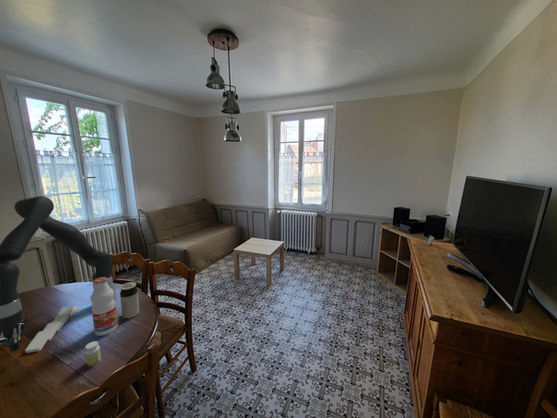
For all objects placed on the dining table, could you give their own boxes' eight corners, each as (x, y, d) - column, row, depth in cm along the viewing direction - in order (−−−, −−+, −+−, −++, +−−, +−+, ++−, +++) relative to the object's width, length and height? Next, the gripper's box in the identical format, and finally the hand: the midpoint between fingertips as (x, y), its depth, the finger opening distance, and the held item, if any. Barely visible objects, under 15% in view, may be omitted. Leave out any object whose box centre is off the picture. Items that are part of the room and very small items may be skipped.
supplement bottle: (92, 357, 94) (90, 340, 93) (104, 356, 94) (101, 340, 93) (83, 367, 89) (81, 349, 88) (95, 366, 90) (93, 348, 88)
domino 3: (54, 324, 114) (62, 310, 121) (66, 321, 116) (73, 308, 123) (53, 321, 113) (61, 307, 120) (65, 319, 115) (72, 306, 122)
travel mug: (126, 321, 117) (123, 290, 114) (120, 315, 121) (116, 286, 118) (142, 313, 124) (139, 284, 121) (135, 308, 128) (132, 280, 125)
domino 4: (57, 328, 108) (68, 313, 116) (45, 330, 107) (57, 315, 114) (58, 331, 109) (69, 316, 116) (46, 333, 107) (58, 317, 115)
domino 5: (60, 319, 118) (69, 310, 126) (71, 318, 119) (79, 308, 128) (60, 316, 118) (69, 307, 126) (71, 315, 119) (79, 305, 127)
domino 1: (26, 353, 95) (40, 334, 103) (40, 350, 97) (52, 332, 105) (24, 350, 95) (38, 331, 102) (38, 348, 96) (51, 329, 104)
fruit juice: (120, 321, 117) (114, 273, 112) (115, 333, 108) (109, 281, 104) (98, 326, 113) (91, 276, 108) (92, 338, 104) (84, 285, 100)
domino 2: (37, 342, 101) (49, 325, 109) (50, 340, 103) (61, 323, 110) (36, 340, 101) (48, 323, 108) (48, 338, 102) (60, 321, 110)
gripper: (5, 321, 80) (15, 360, 83) (31, 300, 92) (39, 336, 95) (-23, 325, 77) (-12, 366, 80) (8, 304, 89) (16, 340, 92)
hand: (15, 349), depth 88 cm, fingers closed
